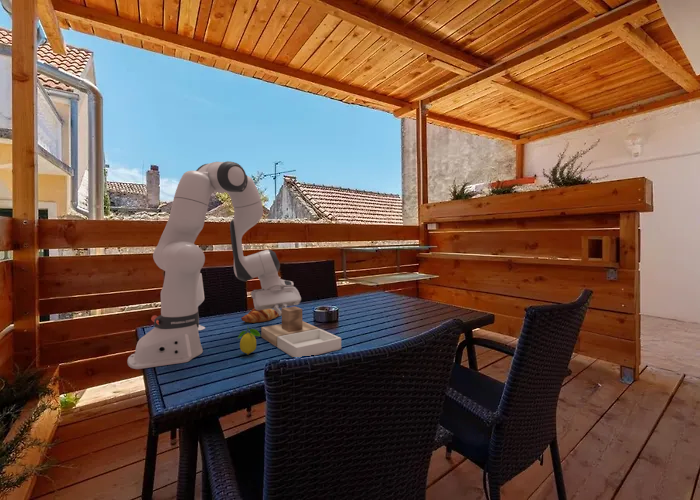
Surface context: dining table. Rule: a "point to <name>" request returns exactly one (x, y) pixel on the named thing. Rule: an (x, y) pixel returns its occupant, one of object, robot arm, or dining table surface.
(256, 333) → the lemon
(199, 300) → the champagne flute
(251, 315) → the croissant
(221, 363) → the dining table surface
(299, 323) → the walnut block
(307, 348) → the box
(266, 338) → the wooden board
